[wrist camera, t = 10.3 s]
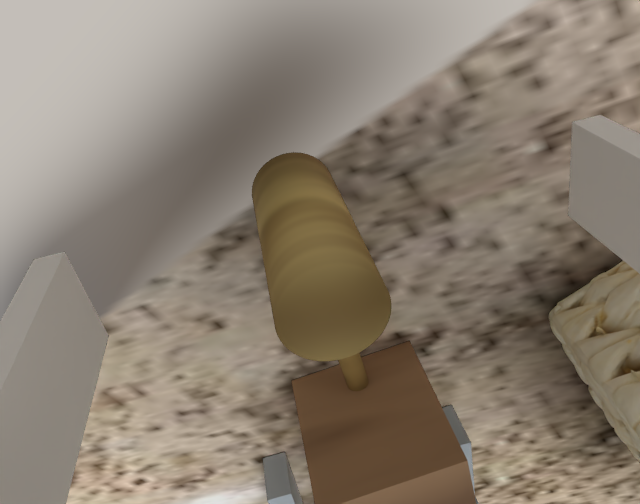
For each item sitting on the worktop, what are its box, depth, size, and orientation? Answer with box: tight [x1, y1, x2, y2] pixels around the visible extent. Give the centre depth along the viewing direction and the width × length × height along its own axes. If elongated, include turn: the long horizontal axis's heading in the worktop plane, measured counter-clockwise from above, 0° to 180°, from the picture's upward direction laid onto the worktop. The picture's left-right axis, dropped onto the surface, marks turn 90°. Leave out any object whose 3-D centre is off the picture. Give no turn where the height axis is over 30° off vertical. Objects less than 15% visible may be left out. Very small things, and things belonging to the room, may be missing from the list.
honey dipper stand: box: [252, 153, 476, 504], centre depth 22 cm, size 17×6×8 cm, turn 16°
